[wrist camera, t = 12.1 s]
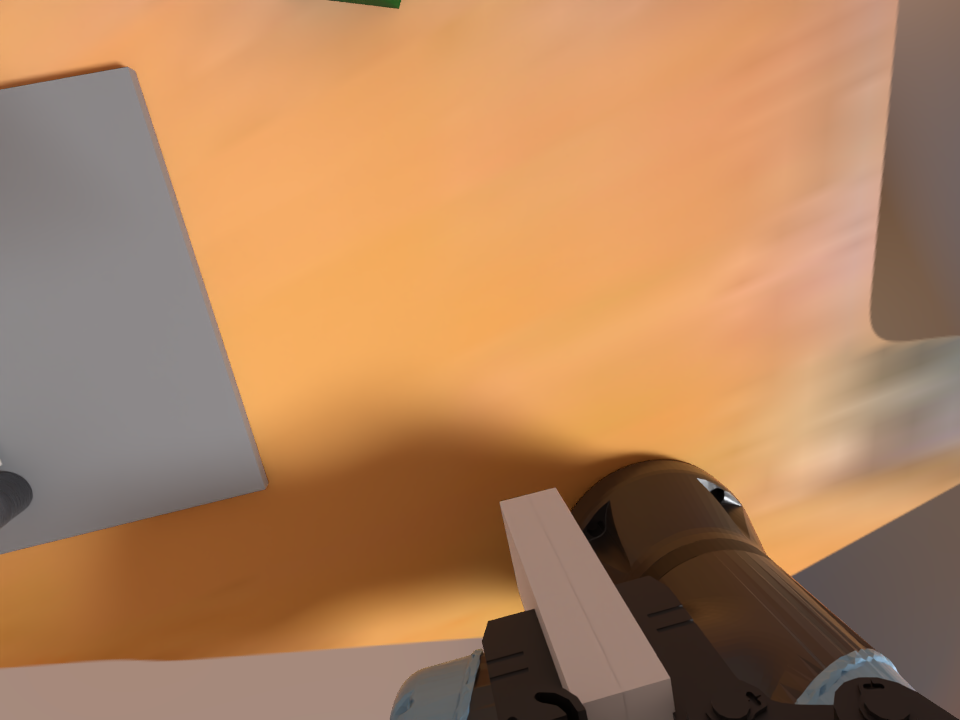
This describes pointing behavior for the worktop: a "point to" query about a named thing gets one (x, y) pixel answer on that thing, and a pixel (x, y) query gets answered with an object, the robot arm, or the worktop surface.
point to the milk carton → (375, 2)
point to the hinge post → (13, 496)
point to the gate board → (105, 322)
